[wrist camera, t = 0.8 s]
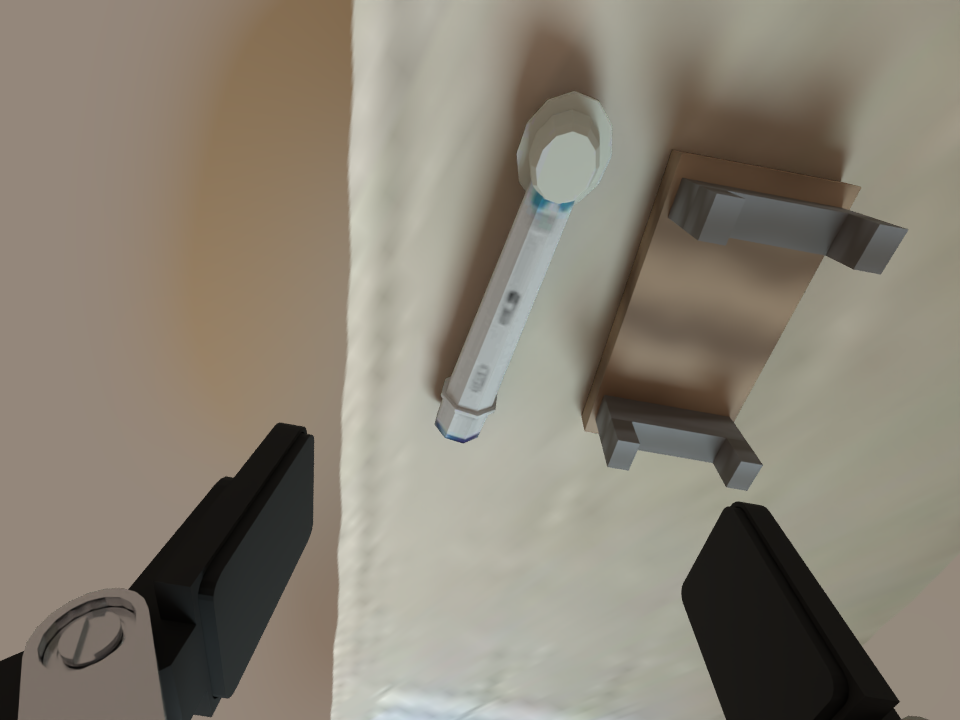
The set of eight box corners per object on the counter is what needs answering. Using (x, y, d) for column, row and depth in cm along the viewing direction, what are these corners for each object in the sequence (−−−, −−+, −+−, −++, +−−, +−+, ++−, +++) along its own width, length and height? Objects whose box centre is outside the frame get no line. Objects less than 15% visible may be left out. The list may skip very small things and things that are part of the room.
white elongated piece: (421, 434, 37) (542, 89, 22) (437, 381, 42) (542, 74, 27) (484, 453, 37) (643, 128, 22) (491, 398, 43) (624, 106, 28)
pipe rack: (672, 149, 29) (718, 164, 23) (841, 181, 30) (934, 205, 23) (581, 416, 40) (595, 479, 33) (707, 438, 40) (745, 504, 33)
